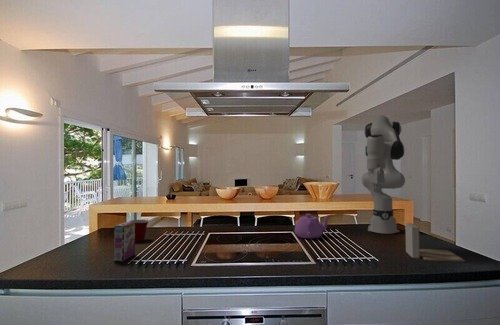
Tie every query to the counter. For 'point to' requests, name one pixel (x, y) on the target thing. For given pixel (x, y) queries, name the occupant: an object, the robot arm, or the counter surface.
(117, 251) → the candy bar box
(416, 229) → the tile
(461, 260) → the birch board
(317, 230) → the teapot
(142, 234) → the plastic cup
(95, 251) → the counter surface
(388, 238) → the counter surface
